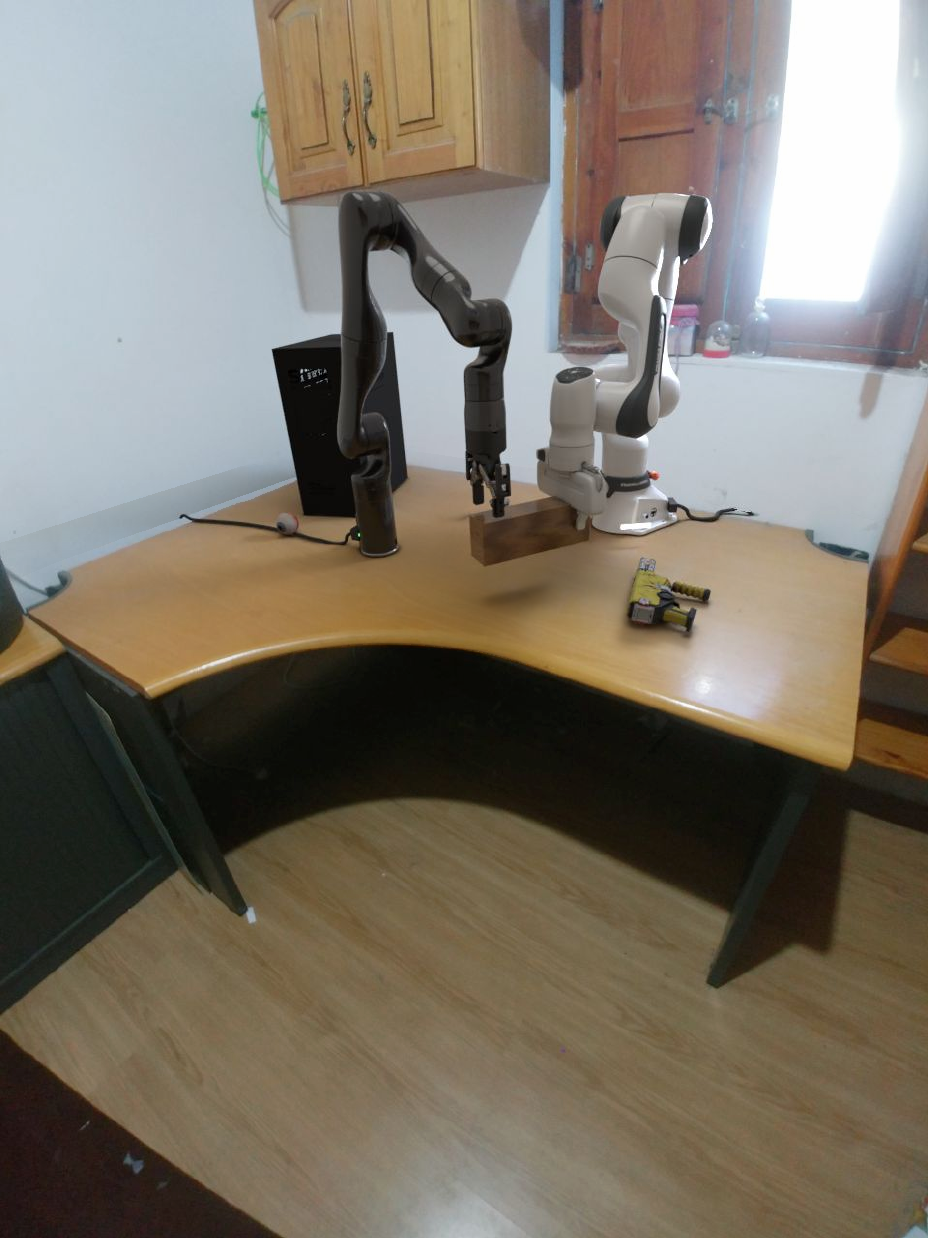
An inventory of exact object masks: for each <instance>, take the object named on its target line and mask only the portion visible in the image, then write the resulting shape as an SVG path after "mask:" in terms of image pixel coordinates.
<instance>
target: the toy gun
mask: <svg viewBox="0 0 928 1238" xmlns="http://www.w3.org/2000/svg"><path fill="white" fill-rule="evenodd" d="M647 559H648V558H647V557H641V558H640V560H639V563H638V568H637V569H636V571H635V576H634V581H633V585H632V588H631V593H630V597H629V601H628V605H627V610H626V618H627V619H628V620H630V621H633V622H634V624H636V625H638V624H639V625H641V626H644V625H645V624H648V625H656V624H658V623H661V622H663V621H665V622H668V623H671V624H675V625H679V626H681V627H684V628H685V632H687V633H690V632H691V629H692V627H693V625H694V622H695V619H696V614H697V611H698V609H697V608H694V607H691V608H690V610H689V611H687V610H685V609H682V608H681V605H680V602H678V601H676V600H675V599H676V598H675V594H679V595H682V596H684V595H685V596H686V597H692V598H693V599H698V600H699V601H703V602H708V601H709V598H710V597H711V593H712V591H711V589H710V588H705V587H702V588H701V587H700V586H694V585H692V584H687V583H685V582H680V581H677V580H676V581H674V582H673V583H671V582H670V580H669V579H668V577H666V576H662V575H659V574H655V569H656V563H657V562H656V560H655V559H654V558H649V561H647ZM646 562H647V563H648V564H647V563H646ZM674 593H675V594H674Z"/></svg>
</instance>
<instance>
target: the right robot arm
mask: <svg viewBox="0 0 928 1238" xmlns="http://www.w3.org/2000/svg"><path fill="white" fill-rule="evenodd" d="M712 213H713V212H712V205H711V203H710V200H709V199H708V198H707V197H705V196H702V195H699V194H694V193H692V194H690V195H688V194H680V193H672V192H658V193H649V194H638V195H632V196H631V195H630V196H629V195H627V194H625V195H620V196H616V197H614V198H612V199H611V200H610V201H609V202H608V203H607V204H606V205H605V207H604V209H603V212H602V216H601V219H600V223H599V243H600V246H601V247H602V248H603V250H604V251H605V256H604V260H603V263H602V267H601V270H600V274H599V278H598V283H597V296H598V300H599V303H600V305H601V307H602V308H603V310H604V311H605V312H606V313H607V314H608V315H609V316H610V317H612V318H613V319H614V320H616V321H618V327H617V336H618V339H619V341H620V342H621V343H622V344H623V345H624V347H625V349H626V354H627V364H622V363H607V364H603V365H597V366H596V367H594V368H593V369H592V368H590V367H587V366H573V367H569V368H564V369H563V370H560V371H559V372H558V373H556V374H555V376H554V378H553V383H552V386H551V392H550V401H549V423H550V428H551V430H550V431H551V432H550V436H549V441H548V446H544V447H540V448H537V449H536V450H535V451H536V452H535V456H536V459H537V463H536V464H537V465H536V483H537V487H538V489H539V491H540V492H542V493H544V494H545V495H548V496H549V497H553V496H556V497H557V498H559V499H561V500H563V501H565V502H567V503H569V504H571V507H573V508H575V509H577V514H578V518H577V520H574V528H576V529H578V530H582V529H584V528H585V521H586V519H587V518H588V516H590V517H592V520H591V525H592V526H593V527H594V528H595V529H597V530H599V531H601V532H605V533H611V534H623V535H625V534H626V535H632V536H633V535H634V536H645V535H646V534H650V533H652V532H654V531H657V530H660V529H662V528H665V527H668V526H670V525H672V524H675V523H677V522H678V516H677V515H676V514H677V513H678V509H681V510H683V511H684V512H685V515H686V516H687V518H689V519H690V520H692V521H698V522H699V521H700V522H709V521H711V522H712V521H715V520H717V519H719V517H720V515H722V514H726V513H731V512H736V511H735V510H737V509H734V508H735V507H729V508H724V509H723V508H722V509H720V510H718V511H716V512H715V515H714V516H713V515H712V516H705V517H704V516H702V517H700V516H695V515H693V514H691V512H690V509H689V508H688V507H686V506H685V505H683V504H681V503H678V502H677V501H676V499H675V498H674V497H671V496H669V497H667V496H666V495H665V494H664V493H663V492H661V491H660V490H659V489H658V488H656V487H655V486H654V485H652V483H651V480H653V481H658V479H659V478H660V473H659V472H657V471H654V470H651V471H649V470H648V469H647V466H648V458H649V457H648V456H649V446H650V442H649V437H648V435H647V434H648V433H649V432H650V431H652V430H653V429H654V428H655V427H656V426H657V423H658V420H659V419H663V418H665V417H668V416H669V415H670V414H672V413H673V411H674V410H675V409H676V407H677V405H678V404H679V401H680V398H681V383H680V380H679V378H678V377H677V376H676V374H675V373H674V370H673V369H672V366H671V364H670V360H669V354H668V353H669V352H668V334H669V328H670V324H671V317H672V313H673V309H674V304H675V298H676V294H677V287H678V281H679V280H678V279H679V271H680V269H679V268H680V266H684V265H685V264H686V263H687V261H688V260H689V259H692V258H694V257H695V256H696V255H697V254H698V253H699V252H700V251H702V249H703V248H704V246H705V243H706V241H707V239H708V237H709V235H710V233H711V229H712V225H713V224H712V223H713V214H712ZM594 432H596V433H600V436H601V441H602V442H601V443H602V444H601V445H602V447H601V468H600V467H598V466H596V465H595V447H596V438H595V433H594ZM750 511H751V510H750ZM742 512H743V513H746V514H748V515H749V516H751V517H753V516H755V513H754V512H753V511H751V512H745V511H742ZM675 513H676V514H675Z"/></svg>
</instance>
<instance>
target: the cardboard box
mask: <svg viewBox="0 0 928 1238" xmlns="http://www.w3.org/2000/svg"><path fill="white" fill-rule="evenodd" d="M271 354H272V359H273V365H274V370H275V374H276V380H277V385H278V389H279V394H280V395H279V396H280V400H281V405H282V410H283V416H284V421H285V426H286V432H287V436H288V441H289V447H290V452H291V456H292V461H293V467H294V473H295V477H296V484H297V487H298V493H299V497H300V503H301V508H302V513H303V515H304V516H334V517H355V513H356V508H355V502H354V495H353V488H352V482H351V474H352V473H353V471H355V470H356V469H357V468H358V467H359V466H361V465H362V463H363V462H364V461H365V459H366V456H365V457H361V458H356V459H349V458H347V457H345V456H344V455H343V454H342V452H341V450H340V448H339V445H338V439H337V420H338V410H339V401H340V390H341V333H331V334H327V335H323V336H319V337H315V338H311V339H306V340H303V341H297V342H295V343H290V344H286V345H281V346H278V347H274V348H271ZM369 412H377V413H379V414H380V415H381V416H382V417H383V418H384V420H385V422H386V424H387V427H388V432H389V439H390V456H391V474H390V482H391V490H392V494H393V493H394V492H395V491H396V490H397V489H398V488H399V487H400V486H401V485H402V484H403V483H404V482H405V481H406V480H407V479H408V478H409V476H408V466H407V465H408V464H407V456H406V455H407V454H406V447H405V437H404V436H405V435H404V427H403V425H404V424H403V416H402V415H403V414H402V407H401V397H400V386H399V375H398V367H397V357H396V345H395V335H394V331H387V344H386V357H385V362H384V365H383V368H382V370H381V372H380V374H379V375H378V377H377V379H376V381H375V382H374V384H373V386H372V387H371V389H370V391H369V393H368V395H367V397H366V399H365V402H364V406H363V411H362V414H364V413H369Z"/></svg>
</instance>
